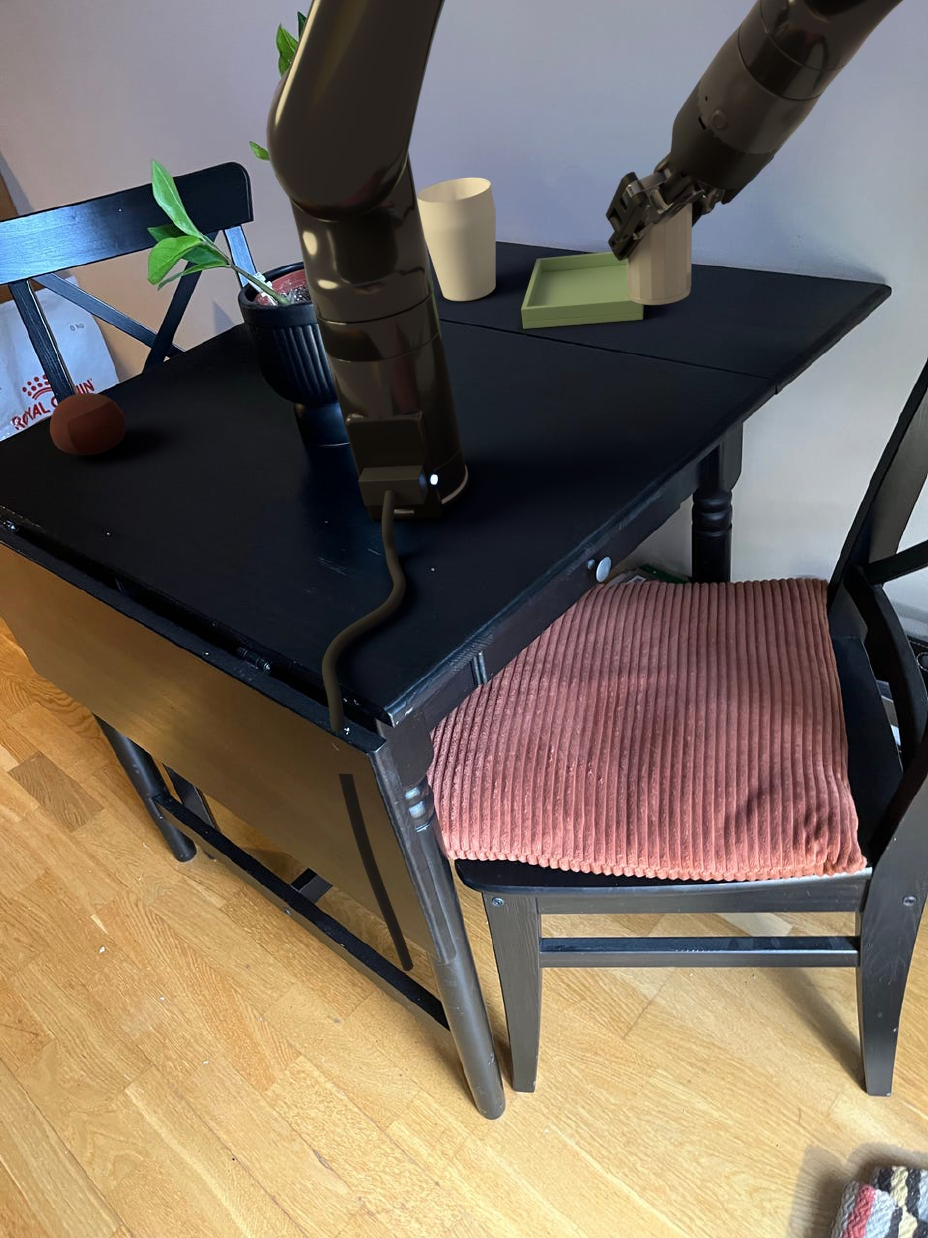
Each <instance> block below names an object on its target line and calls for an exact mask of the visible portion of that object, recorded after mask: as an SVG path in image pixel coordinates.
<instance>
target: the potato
mask: <svg viewBox="0 0 928 1238" xmlns="http://www.w3.org/2000/svg"><path fill="white" fill-rule="evenodd" d="M126 422H127V421H126V417H125V414H124V412H123V410H122V409H121V408H120V406H119V404H117V402H116V401H114V400H112V399H111V398H109V397H108V396H106V395H104V394H99V393H94V392H82V393H77V394H72V395H69V396H67V397H65V398H64V399H63V400H61V401H60V402H58V404H57V405H56V406H55V408H54V409H53V411H52V415H51V417H50V421H49V433H50V437H51V439H52V441H53V442H52V443H53V444H54V445H55V447H56V448H57V449H58V450H60V451H62V452H64V453H67V454H70V455H75V456H80V457H81V456H84V457H85V456H96V455H99V454H101V453H106V452H109V450H111V449H113V448H115V447H117V445H119V444H120V443H121V442H122V441H123V439H124V438H125V436H126V432H127V423H126Z"/></svg>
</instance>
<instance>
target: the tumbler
mask: <svg viewBox="0 0 928 1238" xmlns="http://www.w3.org/2000/svg"><path fill="white" fill-rule="evenodd" d="M655 193H656V195H657V197H658V199H659V201H660V203H661V205H662V206H663V208H664V210H665V209H666V208H667V207H668V205H666V204H665V203H664V201H663V199H662V198H661V196H660V194H659V192H658V190H657V191H655ZM647 218H648V212H647V210H646V209H645V211H644V213H643V215H642V217H641V220H642V222H644V221H645V220H646V219H647ZM692 236H693V227H692V203H690V204H687V205H686V206H685V207H684V208H683V209H682V210H680V211H679V212H678V213H677V214H676V215H675V216H674V217H673V218H672V219H670V220H669V221H668V222H667V223H665V224H656V225H655V226H654V227H653V228H652V229H650V230H649V231H648V232H647V233H646V234H645V235H644V237H643V238H642V240H641V241H640V242H639V244H638V245H637V247H636V248H635V249H634V251H633V252H632V253H631V254H630V256H629V257H628V258H627V259H626V260H627V291H628V297H629V299H630V300H632V301H633V302H636V303H639V304H644V306H660V305H667V304H672V303H676V302H679V301H682V300H684V299H685V298H686V297H688V296H689V295H690V293H691V292H692V247H693V246H692V241H693V240H692V239H693V237H692Z"/></svg>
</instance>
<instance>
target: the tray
mask: <svg viewBox="0 0 928 1238" xmlns="http://www.w3.org/2000/svg"><path fill="white" fill-rule="evenodd" d="M529 279H530V280H529V283H528V286H527V290H526V292H525V296H524V299H523V301H522V302H523V303H522V305H521V309H520V311H521V319H522V320H521V321H522V328H523V330H525V329H539V328H540V329H541V328H549V327H550V328H551V327H565V326H578V325H590V324H605V323H616V322H628V321H629V322H631V321H640V320H641V321H643V320H644V308H645V304H639V303H636V302H633V301H632V300H630V299H629V297H628V291H627V260H626V259H624V260H622V261H619V260H618V259H617V258H616V257H615V255H614V253H613V252H612V251H607V252H606V251H605V252H595V253H586V254H585V253H583V254H575V255H562V256H552V257H541V258H536V260H535V263H534V267H533V269H532V273H531V276H530V278H529Z"/></svg>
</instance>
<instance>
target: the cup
mask: <svg viewBox="0 0 928 1238" xmlns="http://www.w3.org/2000/svg"><path fill="white" fill-rule="evenodd" d="M493 195H494V194H493V189H492V183H491V182H490V180H488V179H486V178H482V177H461V178H453V179H449V180H444V181H440V182H437V183H434V184H431V185H429V186H426V187H425V188H423V189H422V190H420V191H419V192H418V193H417V194H416V196H417V202H418V207H419V212H420V217H421V221H422V226H423V231H424V236H425V241H426V246H427V251H428V254H429V255H430V259H431V262H432V265H433V268H434V271H435V274H436V278H437V281H438V284H439V287H440V291H441V293H442V296H443V297H444V298H445V299H447V300H449V301H452V302H469V301H474V300H478V299H481V298H484V297H486V296H487V295H489V294H491V293H492V292H493V291H494V290H495V289H496V273H497V272H496V263H497V261H496V259H497V258H496V255H497V251H496V250H497V249H496V248H497V247H496V245H497V244H496V241H497V239H496V238H497V235H496V234H497V233H496V232H497V231H496V228H497V227H496V226H497V215H496V214H497V212H496V211H497V210H496V204H495V200H494V196H493Z"/></svg>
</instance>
